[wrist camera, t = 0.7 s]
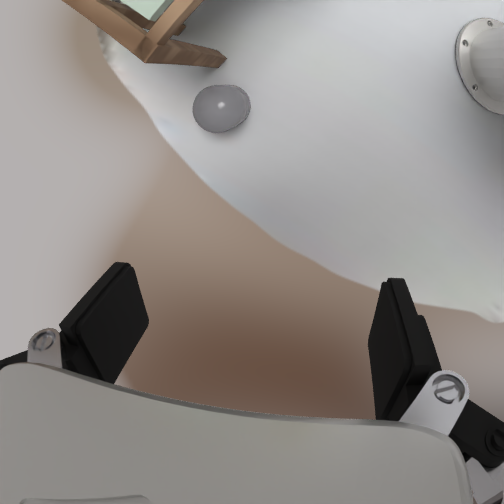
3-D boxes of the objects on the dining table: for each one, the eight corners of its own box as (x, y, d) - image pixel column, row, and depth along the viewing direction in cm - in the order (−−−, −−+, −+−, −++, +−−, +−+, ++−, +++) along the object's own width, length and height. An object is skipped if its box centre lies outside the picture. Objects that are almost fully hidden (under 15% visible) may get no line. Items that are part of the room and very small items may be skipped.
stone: (227, 76, 32) (214, 75, 28) (259, 104, 33) (250, 108, 29) (200, 107, 35) (183, 111, 31) (230, 134, 36) (217, 142, 32)
